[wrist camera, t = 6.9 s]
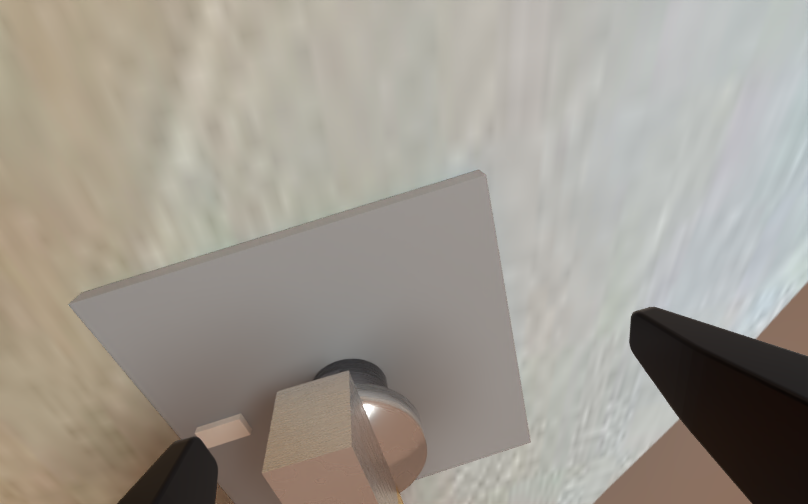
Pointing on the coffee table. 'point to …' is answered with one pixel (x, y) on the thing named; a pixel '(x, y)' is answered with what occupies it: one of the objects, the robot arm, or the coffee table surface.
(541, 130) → the coffee table surface
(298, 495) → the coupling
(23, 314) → the coffee table surface
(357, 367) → the dark grey rounded piece
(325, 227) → the base plate
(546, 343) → the coffee table surface
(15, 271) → the coffee table surface
